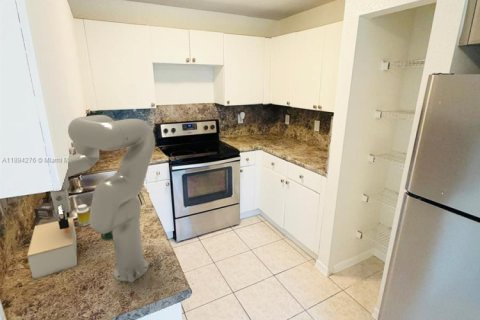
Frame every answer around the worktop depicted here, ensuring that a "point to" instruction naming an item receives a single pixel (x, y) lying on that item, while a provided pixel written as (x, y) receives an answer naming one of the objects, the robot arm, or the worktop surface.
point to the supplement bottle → (83, 215)
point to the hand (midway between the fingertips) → (64, 222)
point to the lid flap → (50, 238)
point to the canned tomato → (107, 236)
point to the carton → (54, 260)
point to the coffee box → (45, 213)
